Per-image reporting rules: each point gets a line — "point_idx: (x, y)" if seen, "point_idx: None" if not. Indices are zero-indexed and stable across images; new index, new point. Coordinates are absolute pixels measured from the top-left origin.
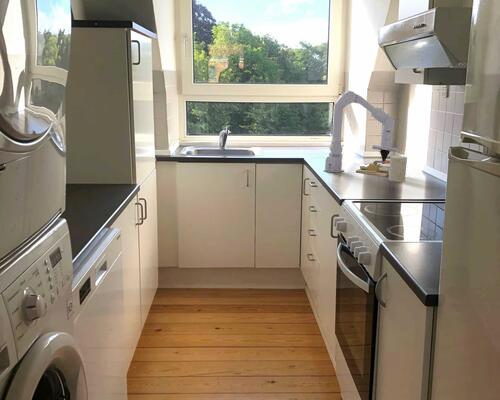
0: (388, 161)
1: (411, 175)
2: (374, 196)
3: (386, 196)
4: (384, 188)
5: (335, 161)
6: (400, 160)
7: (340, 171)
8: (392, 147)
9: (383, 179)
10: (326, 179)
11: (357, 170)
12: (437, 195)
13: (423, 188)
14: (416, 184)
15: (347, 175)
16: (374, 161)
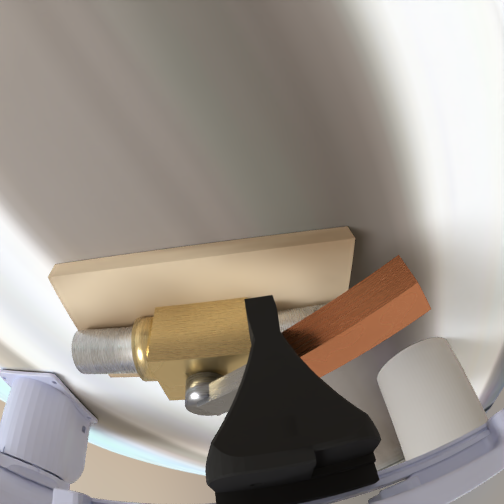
0: (346, 355)
1: (481, 159)
2: (381, 464)
3: (401, 454)
4: (388, 440)
5: (82, 467)
6: None
7: (77, 400)
8: (449, 501)
9: (354, 392)
10: (194, 471)
11: (120, 376)
12: (498, 391)
13: (488, 374)
14: (481, 355)
15: (172, 427)
16: (214, 414)
